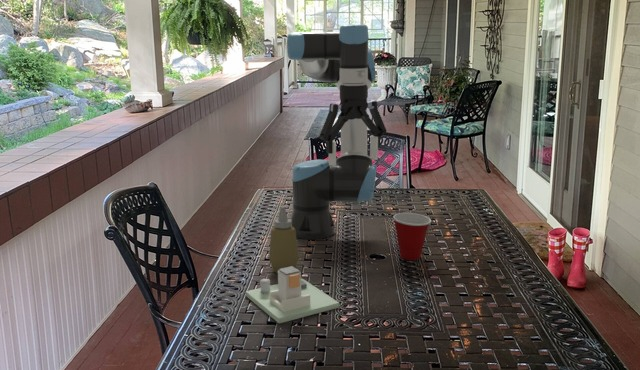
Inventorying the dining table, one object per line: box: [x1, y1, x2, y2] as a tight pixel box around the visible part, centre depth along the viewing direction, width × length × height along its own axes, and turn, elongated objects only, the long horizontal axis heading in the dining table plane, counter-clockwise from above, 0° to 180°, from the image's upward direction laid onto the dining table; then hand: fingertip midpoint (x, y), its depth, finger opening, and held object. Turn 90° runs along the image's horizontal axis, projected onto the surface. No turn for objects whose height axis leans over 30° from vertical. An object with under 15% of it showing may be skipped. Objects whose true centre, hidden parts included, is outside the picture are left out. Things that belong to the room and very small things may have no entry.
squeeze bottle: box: [268, 206, 300, 274], centre depth 173 cm, size 8×8×18 cm
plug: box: [277, 266, 302, 303], centre depth 150 cm, size 5×4×8 cm
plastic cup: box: [392, 212, 432, 261], centre depth 183 cm, size 11×11×12 cm
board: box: [245, 277, 340, 324], centre depth 155 cm, size 18×16×4 cm
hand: (353, 162), depth 176 cm, fingers open, 13 cm apart
